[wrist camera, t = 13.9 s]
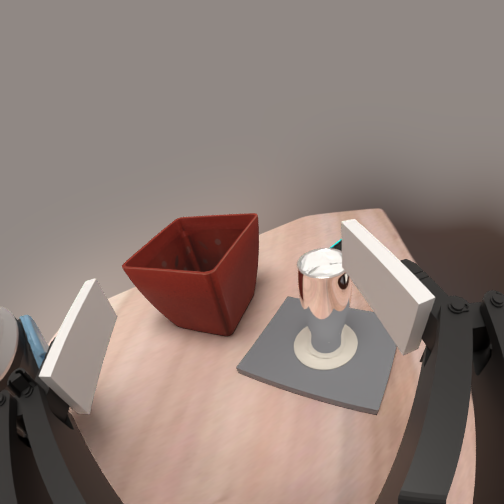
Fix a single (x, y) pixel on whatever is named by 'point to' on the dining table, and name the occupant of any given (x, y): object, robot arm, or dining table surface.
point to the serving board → (324, 359)
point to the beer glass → (324, 300)
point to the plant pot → (200, 270)
